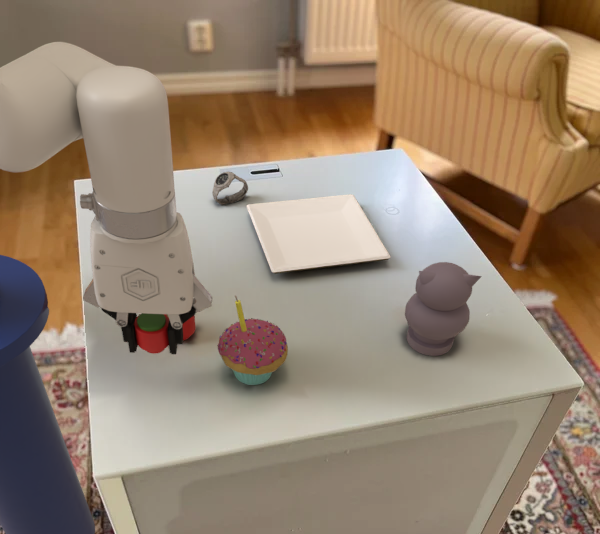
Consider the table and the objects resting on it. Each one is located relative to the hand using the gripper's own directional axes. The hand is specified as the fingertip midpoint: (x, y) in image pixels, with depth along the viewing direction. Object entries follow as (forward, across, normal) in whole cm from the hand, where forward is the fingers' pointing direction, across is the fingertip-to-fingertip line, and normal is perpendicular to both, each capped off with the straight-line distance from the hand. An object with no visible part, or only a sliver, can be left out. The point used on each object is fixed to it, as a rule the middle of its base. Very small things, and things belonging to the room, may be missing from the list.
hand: (154, 344), depth 75 cm
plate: (+6, +21, +32) cm, 38 cm away
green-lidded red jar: (+6, +2, +9) cm, 11 cm away
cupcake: (+6, +12, +2) cm, 13 cm away
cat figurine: (+6, +36, +9) cm, 37 cm away
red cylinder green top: (0, 0, 0) cm, 0 cm away
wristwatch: (+7, +7, +43) cm, 44 cm away
